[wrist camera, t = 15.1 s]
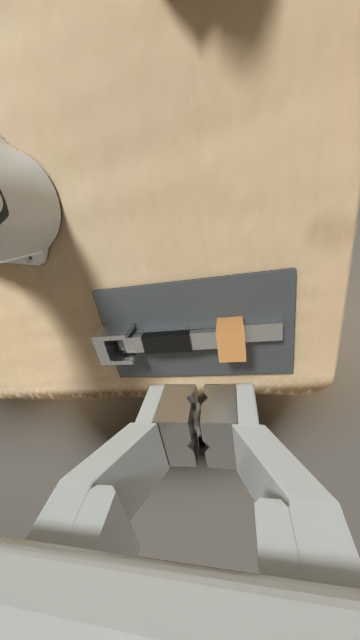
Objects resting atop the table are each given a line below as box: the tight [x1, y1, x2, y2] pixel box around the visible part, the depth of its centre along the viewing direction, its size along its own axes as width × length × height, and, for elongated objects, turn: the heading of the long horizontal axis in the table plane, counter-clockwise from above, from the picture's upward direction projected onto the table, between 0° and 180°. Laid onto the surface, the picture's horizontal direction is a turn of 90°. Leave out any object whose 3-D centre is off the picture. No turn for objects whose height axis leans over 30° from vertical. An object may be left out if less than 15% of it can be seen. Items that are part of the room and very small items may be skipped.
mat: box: [92, 268, 297, 377], centre depth 42 cm, size 32×18×1 cm, turn 100°
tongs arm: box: [116, 328, 217, 355], centre depth 40 cm, size 21×3×2 cm, turn 100°
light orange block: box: [216, 316, 246, 363], centre depth 38 cm, size 4×5×5 cm
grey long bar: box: [91, 319, 283, 366], centre depth 40 cm, size 30×6×4 cm, turn 100°
